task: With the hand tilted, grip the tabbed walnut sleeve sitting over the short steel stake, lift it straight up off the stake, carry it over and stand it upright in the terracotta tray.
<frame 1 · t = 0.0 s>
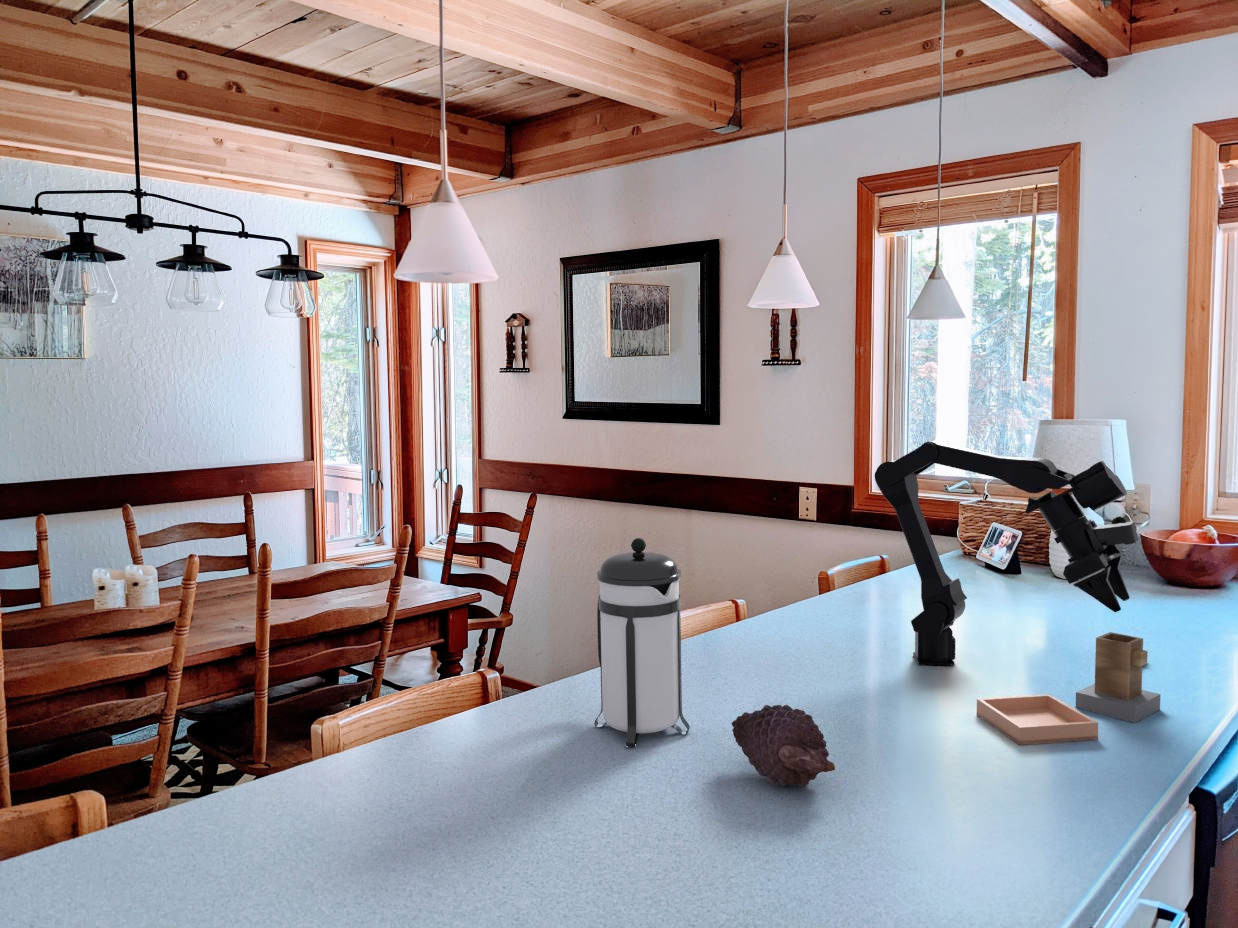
hand: (1122, 605, 149), 15 cm above the kitchen counter, tool tilted 35°, fingers open, 9 cm apart
walnut sleeve: (1117, 692, 142), point 2 cm above the kitchen counter, touching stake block
terracotta tray: (1034, 726, 136), on the kitchen counter
coffee press: (635, 728, 138), on the kitchen counter
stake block: (1117, 708, 143), on the kitchen counter
pastry: (1121, 664, 166), on the kitchen counter
pine cone: (782, 780, 119), on the kitchen counter
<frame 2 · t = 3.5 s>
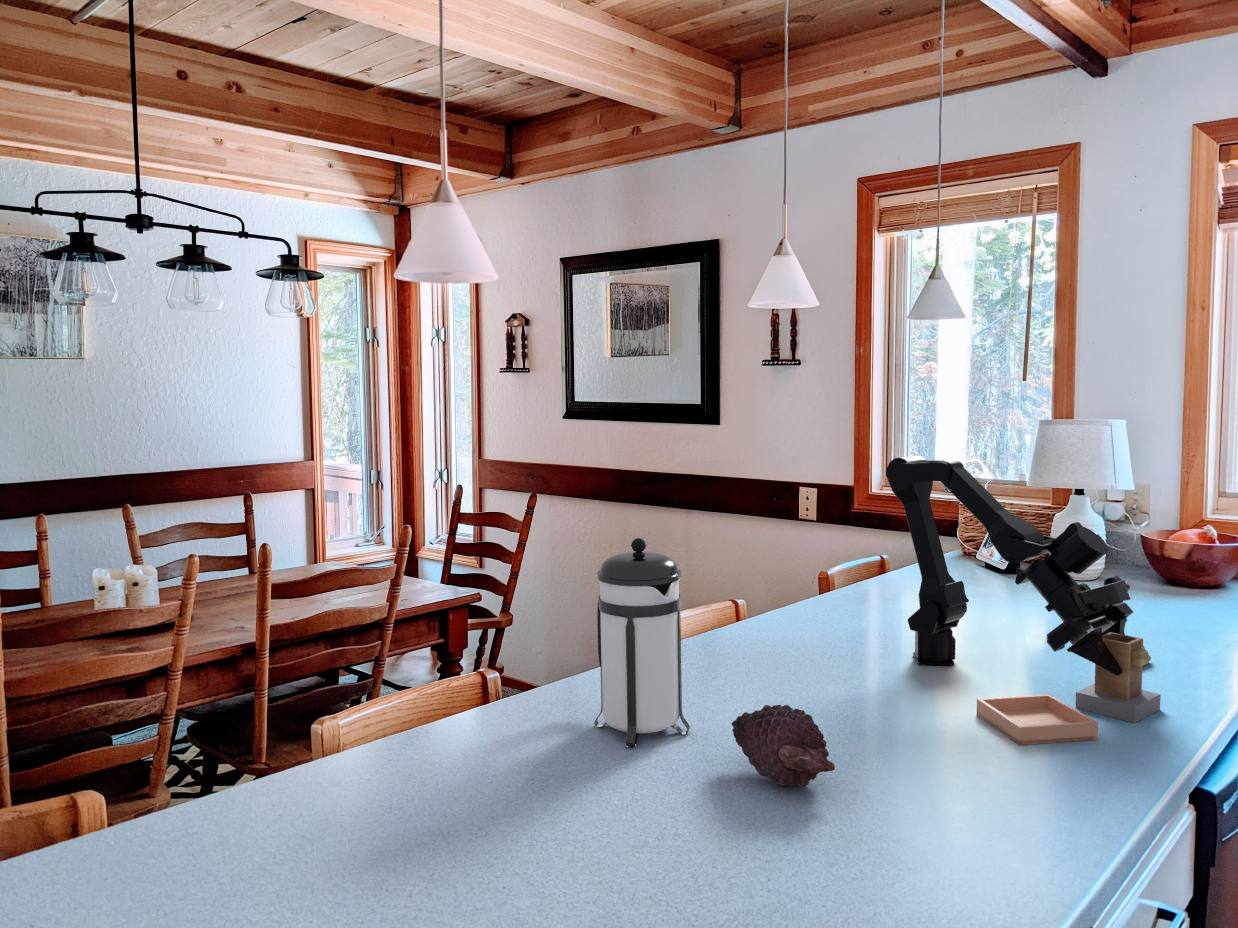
hand: (1127, 670, 141), 7 cm above the kitchen counter, tool tilted 45°, fingers closed on walnut sleeve, 5 cm apart
walnut sleeve: (1117, 692, 142), point 2 cm above the kitchen counter, touching gripper, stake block
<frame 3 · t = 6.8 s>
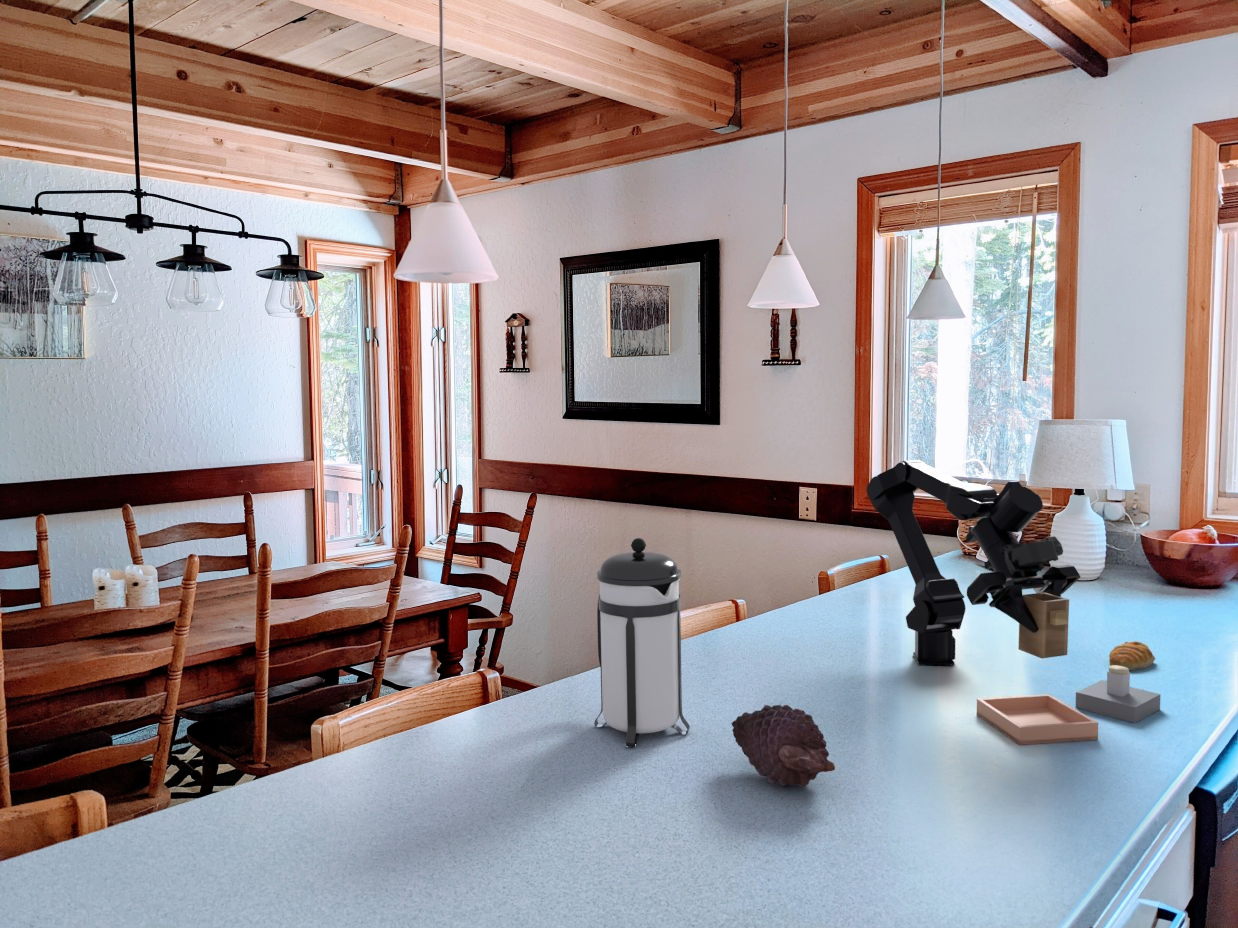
hand: (1049, 629, 141), 13 cm above the kitchen counter, tool tilted 45°, fingers closed on walnut sleeve, 5 cm apart
walnut sleeve: (1042, 652, 142), point 9 cm above the kitchen counter, touching gripper
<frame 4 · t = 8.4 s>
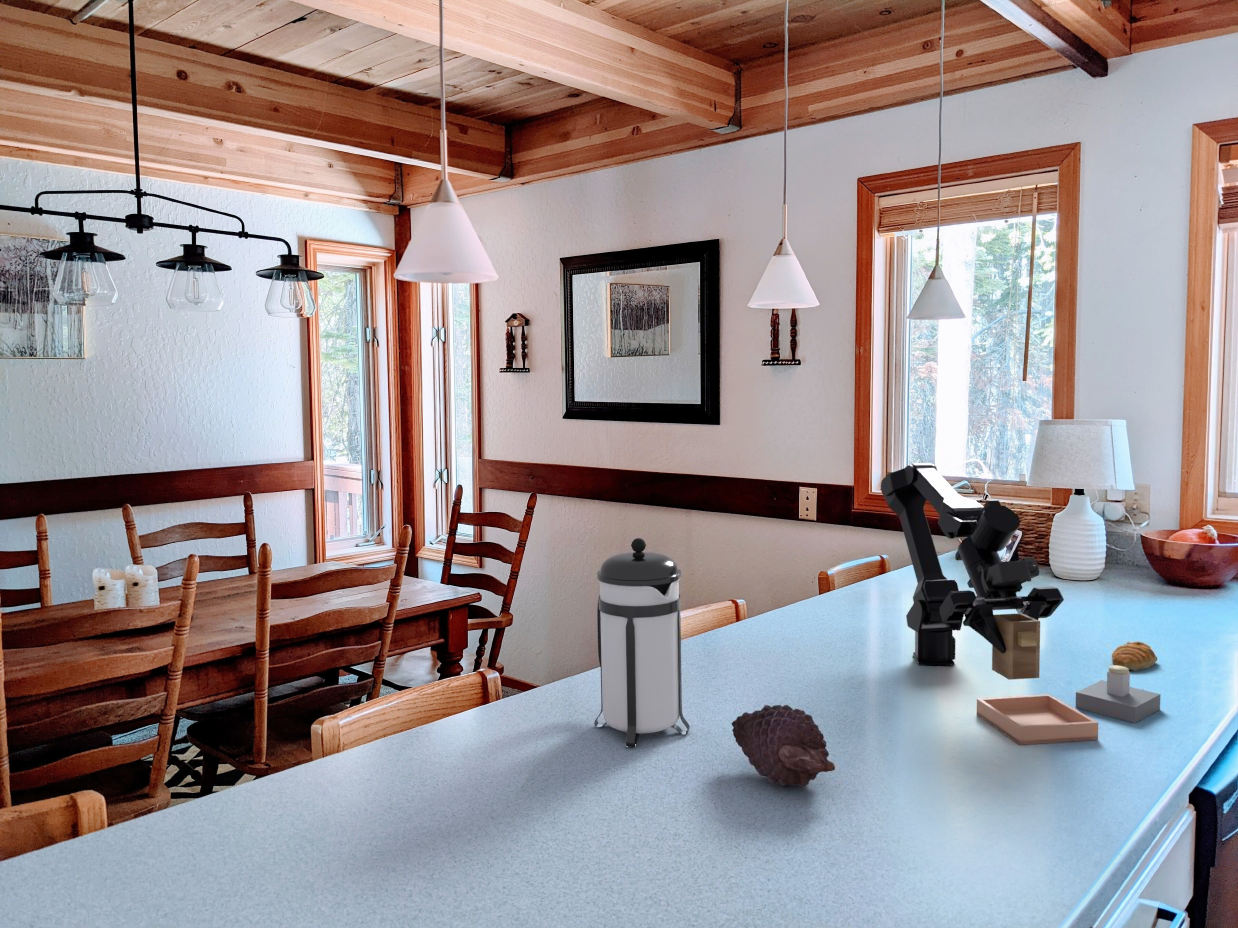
hand: (1020, 651, 139), 11 cm above the kitchen counter, tool tilted 45°, fingers closed on walnut sleeve, 5 cm apart
walnut sleeve: (1015, 673, 141), point 6 cm above the kitchen counter, touching gripper
when the fingers open (6 cm above the kitchen counter, at t = 10.0 s): walnut sleeve drops 2 cm, resting on terracotta tray.
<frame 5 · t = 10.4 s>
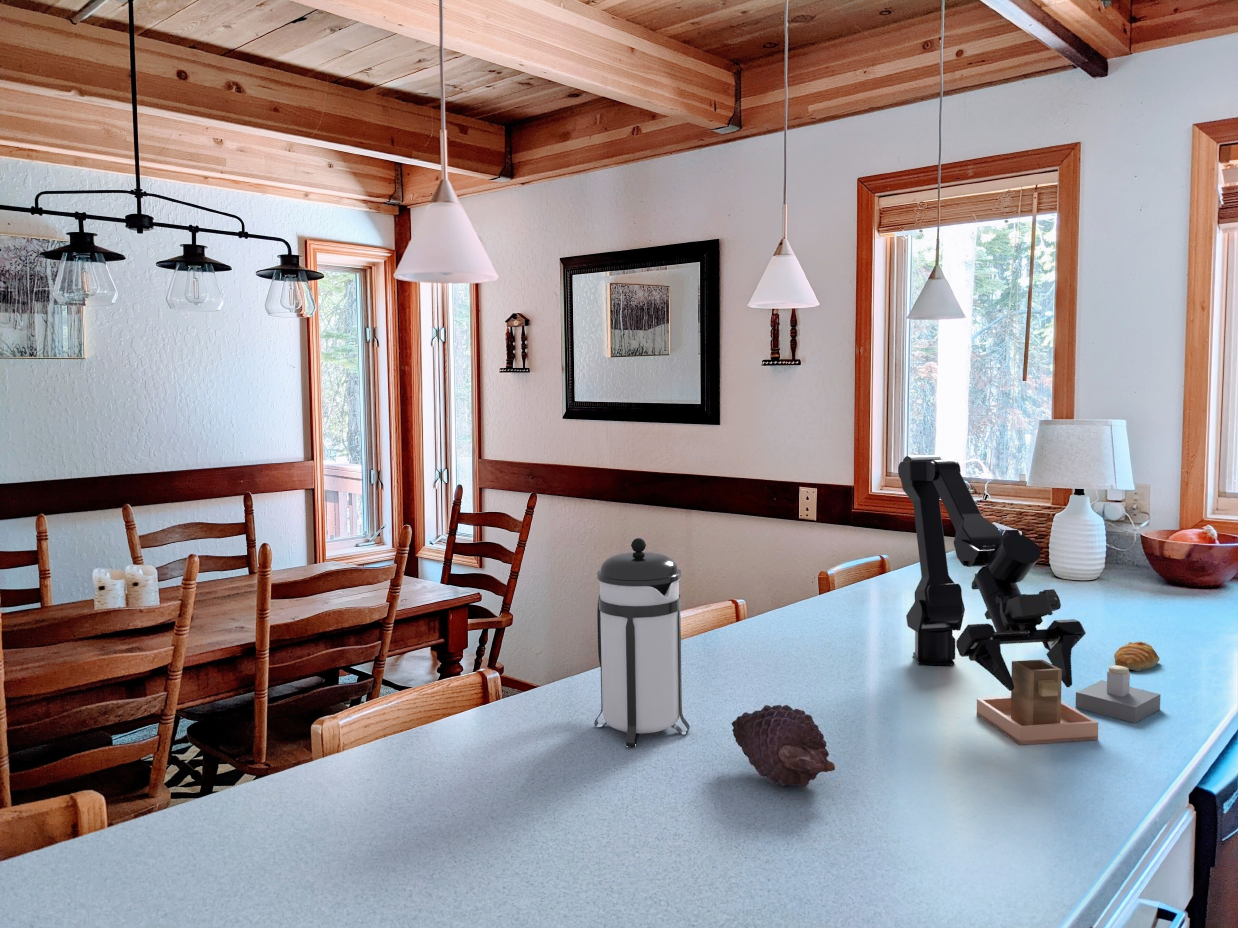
hand: (1041, 687, 134), 7 cm above the kitchen counter, tool tilted 45°, fingers open, 9 cm apart
walnut sleeve: (1035, 722, 136), point 1 cm above the kitchen counter, touching terracotta tray
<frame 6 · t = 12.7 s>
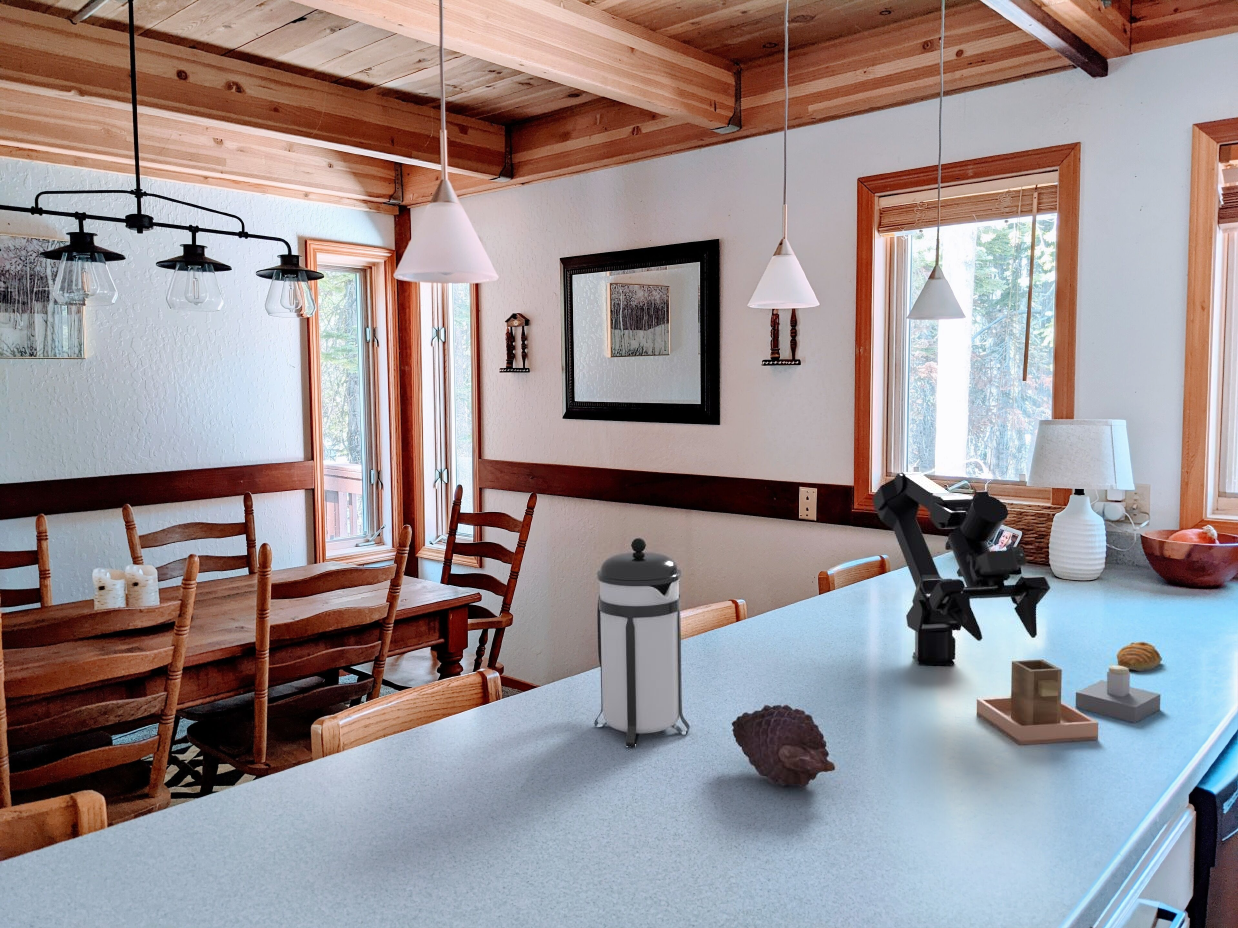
hand: (1007, 637, 143), 12 cm above the kitchen counter, tool tilted 45°, fingers open, 9 cm apart
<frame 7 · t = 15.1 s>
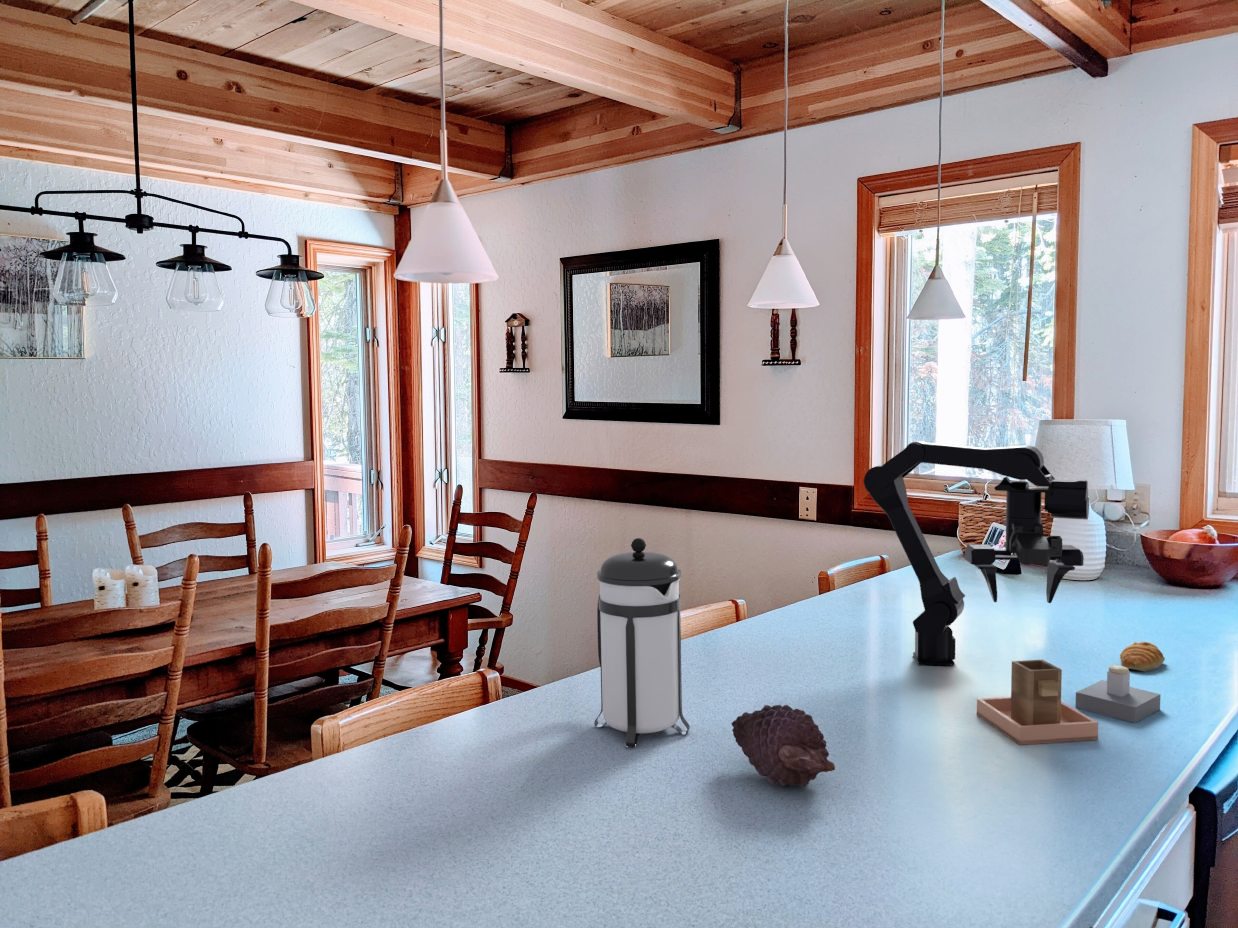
hand: (1021, 602, 160), 13 cm above the kitchen counter, tool pointing down, fingers open, 9 cm apart
at the end: walnut sleeve inside the target area on the terracotta tray (0.0 cm from its centre), point 0.6 cm above the terracotta tray's base; walnut sleeve tilted 0°; the gripper is holding nothing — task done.
